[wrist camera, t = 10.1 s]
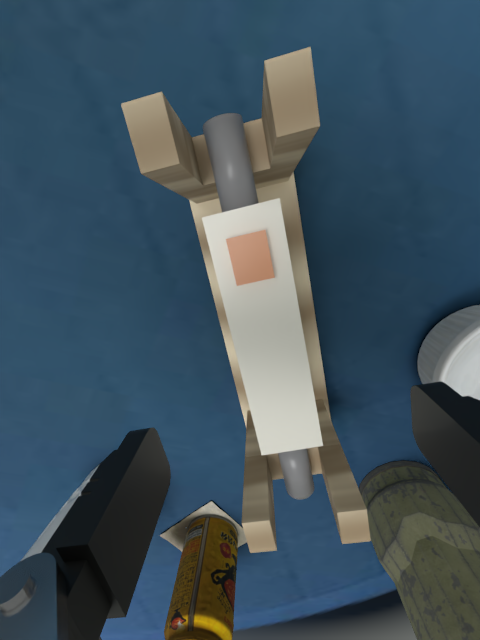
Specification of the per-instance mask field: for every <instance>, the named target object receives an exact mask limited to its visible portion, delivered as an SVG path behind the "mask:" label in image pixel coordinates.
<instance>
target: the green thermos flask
mask: <svg viewBox="0 0 480 640" xmlns="http://www.w3.org/2000/svg"><path fill="white" fill-rule="evenodd" d="M359 491H360V494H361V496H362V499H363V501H364V504H365V506H366V509H367V515H368V523H369V532H370V538H371V541H372V543H373V546H374V549H375V551H376V554H377V556H378V559H379V561H380V562H381V564H382V566H383V567H384V569H385V570H386V572H387V573H388V574H389V576H390V577H391V578H392V580H393V581H394V583H395V585H396V588H397V590H398V593H399V595H400V598H401V600H402V603H403V605H404V608H405V610H406V612H407V615H408V618H409V620H410V623H411V625H412V628H413V630H414V633H415V635H416V637H417V640H480V527H479V526H478V525H477V523H476V522H475V521H474V520H473V518H472V517H471V516H470V514H469V513H468V512H467V510H466V509H465V508H464V507H463V505H462V504H461V503H460V501H459V500H458V499H457V497H456V496H455V495H454V494H453V493H452V492H450V491H449V490H448V489H447V488H446V487H445V485H444V484H443V483H442V481H441V479H440V478H439V476H438V475H437V474H436V473H435V472H434V471H433V470H432V469H430V468H429V467H428V466H425V465H423V464H421V463H418V462H413V461H404V460H403V461H395V462H389V463H387V464H384V465H381V466H379V467H377V468H375V469H374V470H373V471H371V472H370V473H369V474H367V475H366V477H365V478H364V479H363V481H362V482H361V483H360V487H359Z"/></svg>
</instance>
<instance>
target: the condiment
mask: <svg viewBox="0 0 480 640" xmlns="http://www.w3.org/2000/svg"><path fill="white" fill-rule="evenodd" d="M186 527H187V528H186ZM160 536H161V537H163V538H164V539H166V540H167V541H169V542H170V543H171V544H173V545H174V546H175V547H177V548H178V549H179V550H180V551H182V555H181V559H180V564H179V568H178V573H177V577H176V581H175V585H174V590H173V594H172V599H171V603H170V607H169V611H168V616H167V620H166V625H165V630H164V635H165V640H232V633H233V627H234V624H233V619H234V600H235V583H236V570H237V568H236V565H237V551H238V549H237V548H238V547H239V546H241V545H243V544H245V543H246V542H247V540H246V536H245V533H244V529H243V528H242V527H241V526H240V525H239V524H237V522H235V521H234V520H233V519H232V518H231V517H230V516H228V515H227V514H226V513H225V512H223V511H222V510H221V509H220V508H219V507H217V506H216V505H215V504H214V503H213V502H212V501H211V502H209V503H208V504H206V505H205V506H203V507H201V508H200V509H198V510H197V511H195V512H193V513H192V514H191V515H189V516H188V517H186V518H185V519H183V520H182V521H181V522H180V523H178V524H176V525H175V526H173V527H171V528H170V529H169V530H167V531H166V532H165V533H163V534H161V535H160Z"/></svg>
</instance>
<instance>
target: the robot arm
mask: <svg viewBox="0 0 480 640" xmlns="http://www.w3.org/2000/svg"><path fill="white" fill-rule="evenodd" d="M411 411H412V429H413V434H414V438H415V440H416V443H417V445H418V447H419V449H420V450H421V452H422V453H423V455H424V456H425V457H426V459H427V460H428V461H429V462H430V464H431V465H432V466H433V468H434V469H435V470H436V472H437V473H438V474H439V475H440V477H441V478H442V479H443V481H444V482H445V483H446V484H447V486H448V487H449V488H450V490H451V491H452V492H453V494H454V495H455V496H456V497H457V499H458V500H459V501H460V503H461V504H462V505H463V507H464V508H465V509H466V510H467V512H468V513H469V514H470V516H471V517H472V518H473V520H474V521H475V522H476V523H477V525H478V526H479V527H480V400H478V399H475V398H473V397H470V396H463V397H462V396H461V395H460V394H458V393H457V392H456V391H455V390H453V389H452V388H451V387H449V386H448V385H447V384H446V383H444V382H441V381H439V382H433V383H427V384H421V385H415V386H412V388H411ZM169 485H170V466H169V462H168V460H167V457H166V454H165V451H164V449H163V446H162V443H161V441H160V438H159V435H158V433H157V431H156V429H155V428H147V429H141V430H135V431H130V432H129V433H128V434H127V435H126V437H125V438H124V440H123V442H122V443H121V445H120V446H119V448H118V450H114V451H113V452H112V453H111V454H110V455H109V456H108V457H107V458H106V459H105V460H104V461H103V462H102V463H100V465H99V466H98V468H97V469H96V471H95V472H94V474H93V475H92V477H91V478H90V482H88V483H87V484H86V486H85V487H84V489H83V490H82V492H81V496H78V498H77V499H76V501H75V502H74V504H73V505H72V507H71V508H70V510H69V511H68V513H67V514H66V516H65V517H64V519H63V520H62V522H61V523H60V525H59V526H58V528H57V529H56V531H55V532H54V534H53V535H52V537H51V538H50V540H49V541H48V543H47V544H46V546H45V547H44V549H43V550H42V552H41V553H38V554H35V555H32V556H30V557H28V558H26V559H24V560H22V561H20V562H19V563H17V564H16V565H14V566H13V567H12V568H11V569H9V570H8V571H7V572H6V573H5V574H3V575H2V576H1V577H0V640H102V639H101V637H100V634H101V632H102V629H103V627H104V624H105V621H106V619H108V618H119V617H126V615H127V612H128V609H129V605H130V602H131V599H132V596H133V593H134V590H135V587H136V584H137V581H138V578H139V575H140V572H141V569H142V566H143V563H144V560H145V557H146V554H147V551H148V548H149V545H150V542H151V539H152V536H153V533H154V530H155V527H156V524H157V521H158V518H159V515H160V512H161V509H162V506H163V503H164V500H165V497H166V494H167V491H168V488H169Z"/></svg>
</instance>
